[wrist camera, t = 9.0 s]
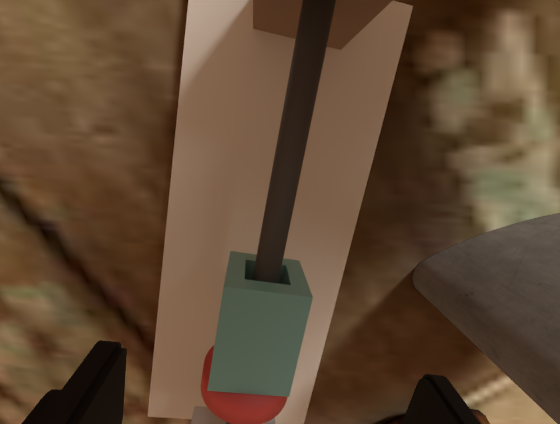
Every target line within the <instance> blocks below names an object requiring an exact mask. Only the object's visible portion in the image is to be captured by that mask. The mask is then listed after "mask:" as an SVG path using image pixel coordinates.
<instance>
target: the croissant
mask: <svg viewBox="0 0 560 424" xmlns="http://www.w3.org/2000/svg"><path fill="white" fill-rule="evenodd" d="M470 410H471V411H472V413H473V414H474V415H475V417H476V418H477V419H478V421H479V422H480V423H481V424H490V423H489V421H488V420H487V418H486V416H485V415H484V414H483V413H481V412H480V411H479V410H473V409H470ZM404 416H405V415H404ZM404 416H402V417H399V418H397V419H395V420H393V421H390V422H388V423H386V424H402V422H403V419H404Z"/></svg>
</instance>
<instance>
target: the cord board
mask: <svg viewBox="0 0 560 424" xmlns="http://www.w3.org/2000/svg"><path fill="white" fill-rule="evenodd" d="M412 8H413V6H412V5H408V4H404V3H401V2H397V1H393V0H188V10H187V20H186V30H185V40H184V50H183V60H182V70H181V81H180V91H179V101H178V111H177V121H176V131H175V141H174V152H173V162H172V172H171V182H170V192H169V202H168V213H167V223H166V233H165V243H164V253H163V263H162V273H161V284H160V294H159V304H158V314H157V324H156V334H155V344H154V355H153V365H152V375H151V385H150V395H149V405H148V416H147V417H162V418H178V419H192V420H191V424H304V422H305V418H306V414H307V410H308V406H309V402H310V399H311V395H312V391H313V387H314V383H315V379H316V376H317V372H318V368H319V364H320V360H321V356H322V353H323V349H324V345H325V341H326V337H327V334H328V330H329V326H330V322H331V318H332V314H333V311H334V307H335V303H336V299H337V295H338V291H339V288H340V284H341V280H342V276H343V272H344V269H345V265H346V261H347V257H348V253H349V249H350V246H351V242H352V238H353V234H354V230H355V226H356V223H357V219H358V215H359V211H360V207H361V204H362V200H363V196H364V192H365V188H366V184H367V181H368V177H369V173H370V169H371V165H372V161H373V158H374V154H375V150H376V146H377V142H378V139H379V135H380V131H381V127H382V123H383V119H384V116H385V112H386V108H387V104H388V100H389V96H390V93H391V89H392V85H393V81H394V77H395V73H396V70H397V66H398V62H399V58H400V54H401V51H402V47H403V43H404V39H405V35H406V31H407V28H408V24H409V20H410V16H411V12H412ZM230 251H235V252H242V253H249V254H257V256H256V261H255V267H254V272H253V278H252V280H254V281H262V282H270V283H278V281H279V276H280V272H281V267H282V262H283V258H285V259H292V260H299V261H300V264H301V266H302V269H303V272H304V274H305V277H306V280H307V283H308V285H309V288H310V291H311V294H312V296H313V299H312V304H311V308H310V312H309V316H308V320H307V324H306V329H305V333H304V337H303V341H302V345H301V349H300V354H299V358H298V362H297V366H296V370H295V375H294V379H293V383H292V387H291V391H290V395H289V397H284V396H270V395H257V394H244V393H230V392H217V391H207V389H208V383H209V376H210V370H211V364H212V357H213V351H214V344H215V338H216V332H217V325H218V319H219V312H220V306H221V299H222V293H223V287H224V281H225V276H226V271H227V266H228V261H229V255H230Z"/></svg>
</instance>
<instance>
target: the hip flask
mask: <svg viewBox="0 0 560 424" xmlns="http://www.w3.org/2000/svg"><path fill="white" fill-rule="evenodd" d="M412 279H413V284H414V286H415V288H416V289H417V290H418V291H419V292H420V293H421V294H422V295H423V296H424V297H425V298H426V299H427V300H428V301H429V302H430V303H431V304H432V305H434V306H435V307H436V308H437V309H438V310H439V311H440V312H441V313H442V314H443V315H444V316H445V317H446V318H447V319H448V320H449V321H450V322H451V323H452V324H453V325H455V326H456V327H457V328H458V329H459V330H460V331H461V332H462V333H463V334H464V335H465V336H466V337H467V338H468V339H469V340H470V341H471V342H472V343H473V344H475V345H476V346H477V347H478V348H479V349H480V350H481V351H482V352H483V353H484V354H485V355H486V356H487V357H488V358H489V359H490V360H491V361H492V362H493V363H494V364H496V365H497V366H498V367H499V368H500V369H501V370H502V371H503V372H504V373H505V374H506V375H507V376H508V377H509V378H510V379H511V380H512V381H513V382H514V383H515V384H517V385H518V386H519V387H520V388H521V389H522V390H523V391H524V392H525V393H526V394H527V395H528V396H529V397H530V398H531V399H532V400H533V401H534V402H535V403H537V404H538V405H539V406H540V407H541V408H542V409H543V410H544V411H545V412H546V413H547V414H548V415H549V416H550V417H551V418H552V419H553V420H554V421H555V422H556V423H558V424H560V213H558V214H552V215H548V216H543V217H538V218H534V219H530V220H526V221H523V222H519V223H516V224H512V225H509V226H506V227H502V228H499V229H496V230H493V231H490V232H487V233H484V234H481V235H479V236H476V237H473V238H471V239H468V240H466V241H463V242H461V243H458V244H456V245H454V246H451V247H449V248H447V249H445V250H443V251H441V252H439V253H437V254H435V255H433V256H431V257H429V258H427V259H425V260H423V261H422V262H421V263H420V264H418V266H417V267H416V269H415V270H414V273H413V278H412Z"/></svg>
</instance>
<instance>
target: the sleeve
mask: <svg viewBox="0 0 560 424" xmlns="http://www.w3.org/2000/svg"><path fill="white" fill-rule="evenodd" d="M256 256H257V254H249V253H242V252H235V251H230V255H229V261H228V266H227V271H226V276H225V281H224V287H223V293H222V299H221V306H220V312H219V319H218V325H217V332H216V338H215V344H214V351H213V357H212V364H211V370H210V376H209V383H208V389H207V391H217V392H230V393H244V394H257V395H270V396H284V397H289V395H290V391H291V387H292V383H293V379H294V375H295V370H296V366H297V362H298V358H299V354H300V349H301V345H302V341H303V337H304V333H305V329H306V324H307V320H308V316H309V312H310V308H311V304H312V299H313V296H312V294H311V291H310V288H309V285H308V283H307V280H306V277H305V274H304V272H303V269H302V266H301V264H300V261H299V260H292V259H285V258H283V262H282V267H281V272H280V276H279V281H278V283H270V282H262V281H254V280H252V278H253V272H254V267H255V261H256Z"/></svg>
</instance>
